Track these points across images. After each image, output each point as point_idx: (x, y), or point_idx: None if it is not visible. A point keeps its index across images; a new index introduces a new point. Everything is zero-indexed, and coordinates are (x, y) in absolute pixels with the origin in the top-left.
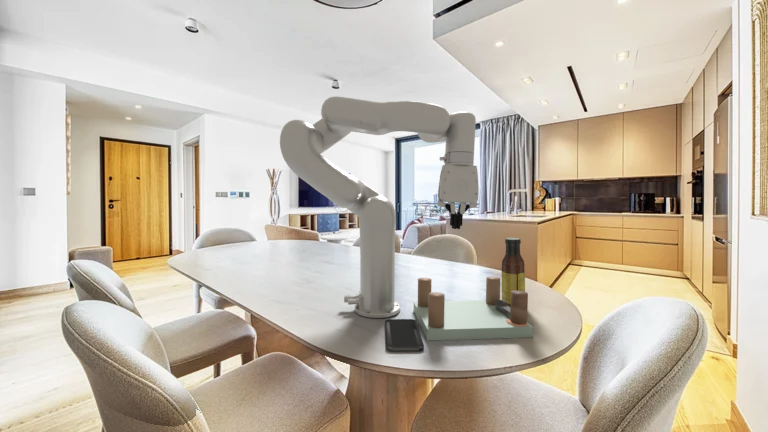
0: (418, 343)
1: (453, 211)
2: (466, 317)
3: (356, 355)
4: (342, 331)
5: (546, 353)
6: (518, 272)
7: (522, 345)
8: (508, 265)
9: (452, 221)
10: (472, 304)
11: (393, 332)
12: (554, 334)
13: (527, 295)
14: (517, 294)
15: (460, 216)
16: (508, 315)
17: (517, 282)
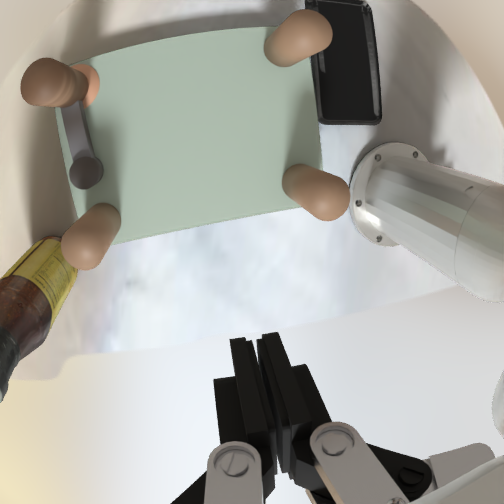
0: (316, 11)
1: (335, 446)
2: (196, 97)
3: (406, 5)
4: (439, 89)
5: (66, 13)
6: (5, 279)
7: (95, 32)
8: (22, 298)
9: (304, 382)
10: (161, 202)
11: (364, 61)
12: (14, 104)
13: (27, 70)
14: (51, 62)
15: (247, 414)
16: (84, 114)
17: (21, 264)
